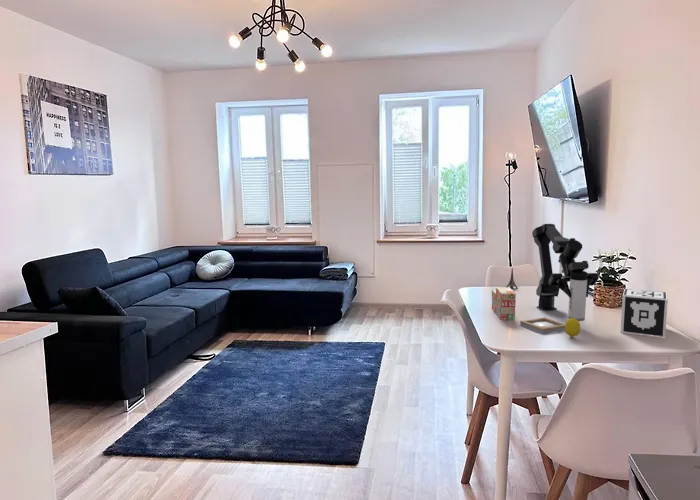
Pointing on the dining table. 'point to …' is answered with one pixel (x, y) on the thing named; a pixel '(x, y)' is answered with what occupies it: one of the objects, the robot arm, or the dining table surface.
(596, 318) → the dining table surface
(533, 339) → the dining table surface
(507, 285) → the eiffel tower figurine
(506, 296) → the stack of blocks
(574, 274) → the travel mug
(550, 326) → the square wooden frame
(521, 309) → the dining table surface
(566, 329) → the lemon
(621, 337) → the dining table surface
